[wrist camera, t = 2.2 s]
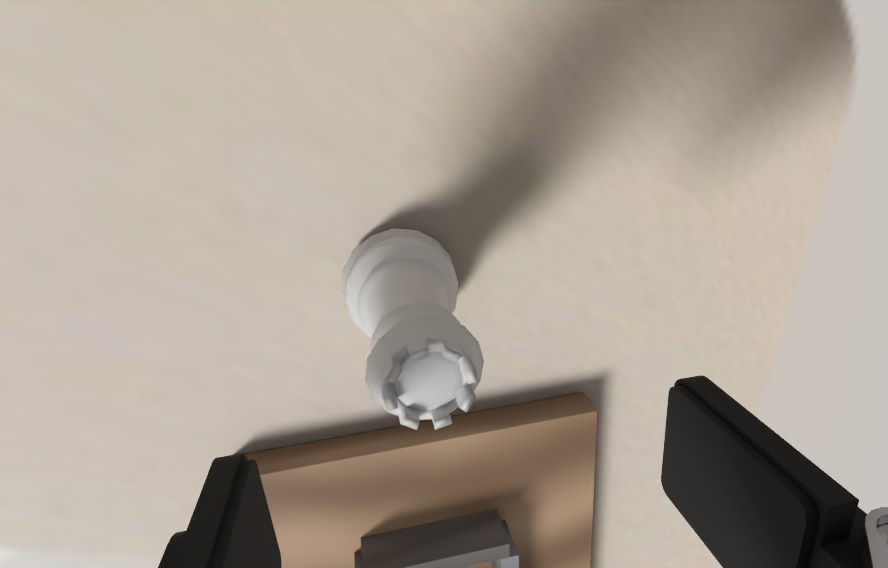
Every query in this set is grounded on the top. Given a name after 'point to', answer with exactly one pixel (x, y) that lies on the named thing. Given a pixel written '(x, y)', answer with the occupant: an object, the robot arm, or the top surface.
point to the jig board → (441, 492)
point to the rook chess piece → (412, 327)
